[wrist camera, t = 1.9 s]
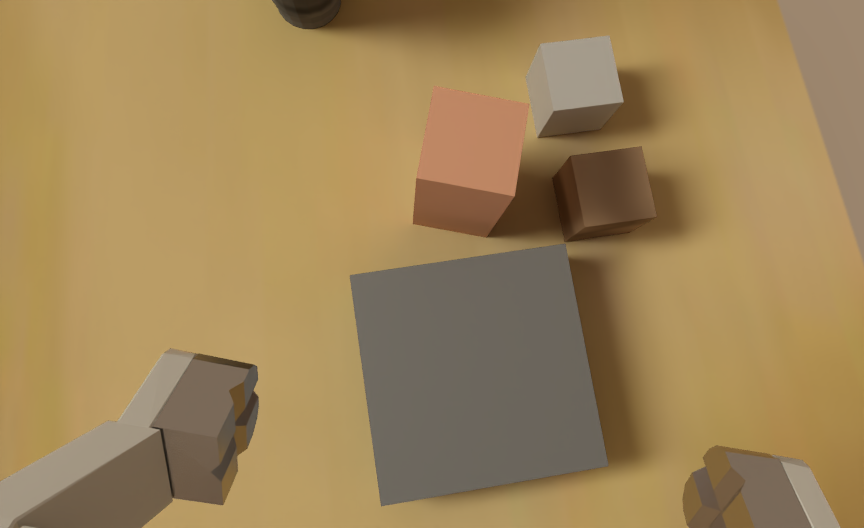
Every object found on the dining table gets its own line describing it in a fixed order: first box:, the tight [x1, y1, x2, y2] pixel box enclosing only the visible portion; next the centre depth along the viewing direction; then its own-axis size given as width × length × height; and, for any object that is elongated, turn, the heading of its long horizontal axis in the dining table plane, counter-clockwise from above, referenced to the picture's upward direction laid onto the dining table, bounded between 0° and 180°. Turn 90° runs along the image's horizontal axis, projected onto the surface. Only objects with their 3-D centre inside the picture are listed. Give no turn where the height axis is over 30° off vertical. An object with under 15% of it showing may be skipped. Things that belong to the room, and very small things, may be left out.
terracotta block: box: [413, 86, 529, 237], centre depth 35 cm, size 5×5×10 cm
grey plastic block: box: [526, 36, 624, 138], centre depth 39 cm, size 4×4×4 cm
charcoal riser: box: [350, 244, 608, 506], centre depth 36 cm, size 13×13×4 cm
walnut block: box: [552, 146, 657, 242], centre depth 38 cm, size 4×4×4 cm
